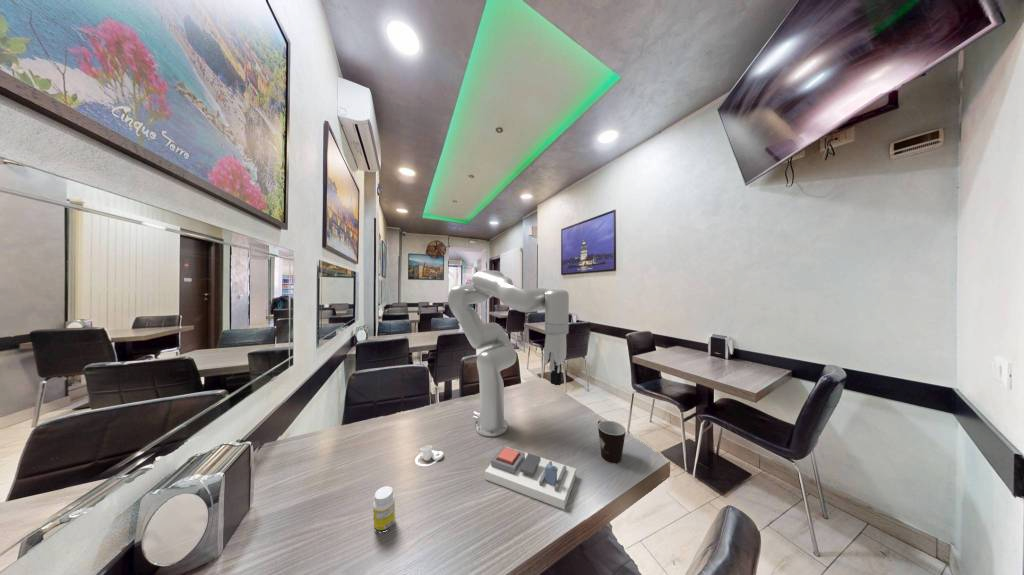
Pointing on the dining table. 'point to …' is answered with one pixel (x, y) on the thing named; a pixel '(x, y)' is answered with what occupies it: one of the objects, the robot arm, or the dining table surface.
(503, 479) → the panel
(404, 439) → the dining table surface
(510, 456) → the button
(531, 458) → the block
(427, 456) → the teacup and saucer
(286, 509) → the dining table surface
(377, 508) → the supplement bottle
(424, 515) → the dining table surface
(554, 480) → the paddle
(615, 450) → the coffee mug
